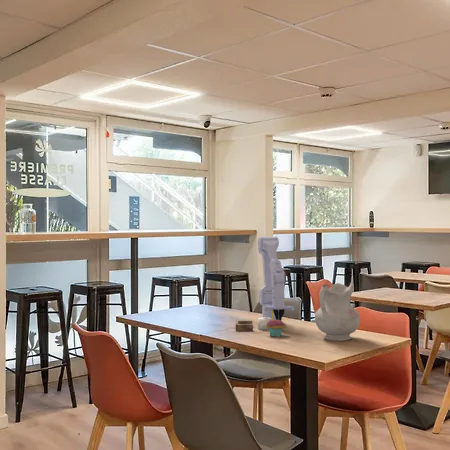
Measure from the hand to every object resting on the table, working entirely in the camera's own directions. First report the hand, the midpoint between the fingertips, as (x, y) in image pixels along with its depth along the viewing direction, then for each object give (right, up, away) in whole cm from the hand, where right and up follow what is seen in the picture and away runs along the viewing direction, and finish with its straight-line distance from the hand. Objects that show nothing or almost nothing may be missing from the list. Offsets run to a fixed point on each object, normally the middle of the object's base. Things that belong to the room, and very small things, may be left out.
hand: (278, 325), depth 272 cm
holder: (-17, -2, 0) cm, 17 cm away
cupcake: (-3, -2, -16) cm, 16 cm away
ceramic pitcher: (+23, -2, -25) cm, 34 cm away
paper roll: (-7, -2, 0) cm, 7 cm away
